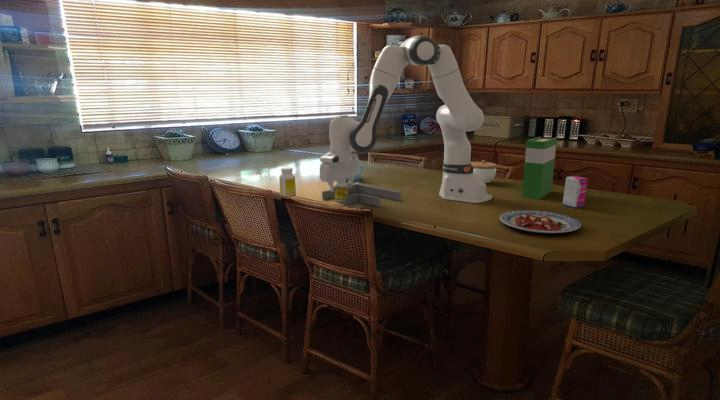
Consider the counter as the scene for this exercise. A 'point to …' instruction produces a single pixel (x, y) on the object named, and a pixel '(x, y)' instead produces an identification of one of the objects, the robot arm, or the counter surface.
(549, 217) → the ceramic plate
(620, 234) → the counter surface
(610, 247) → the counter surface
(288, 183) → the supplement bottle
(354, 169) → the robot arm
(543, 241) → the counter surface
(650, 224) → the counter surface
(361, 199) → the guide walls
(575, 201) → the supplement box
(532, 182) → the green white carton
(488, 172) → the lidded bowl
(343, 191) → the supplement bottle
